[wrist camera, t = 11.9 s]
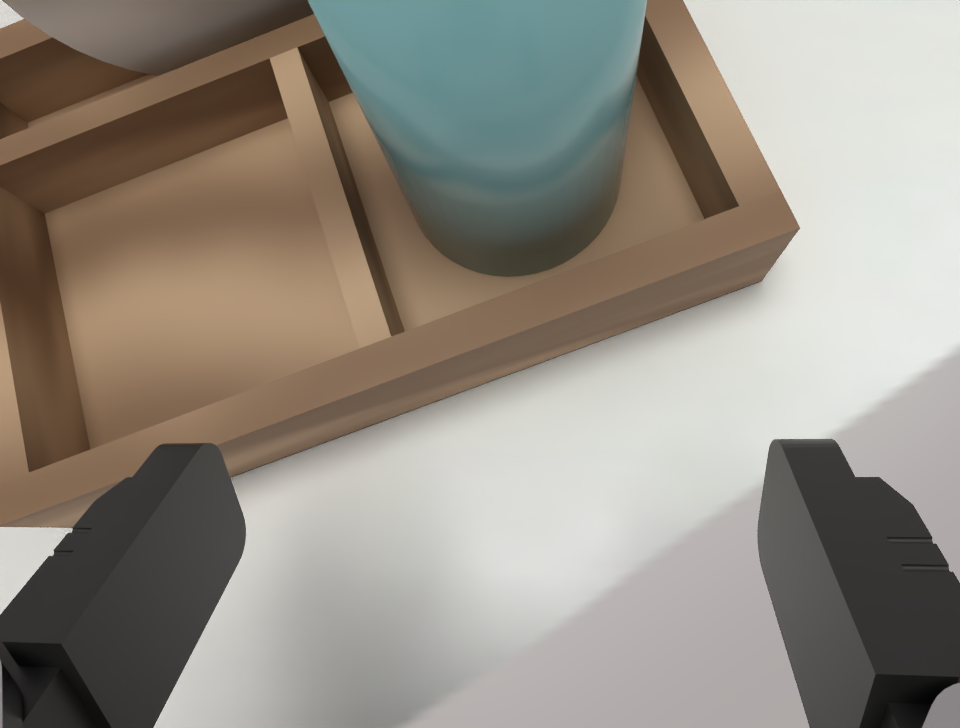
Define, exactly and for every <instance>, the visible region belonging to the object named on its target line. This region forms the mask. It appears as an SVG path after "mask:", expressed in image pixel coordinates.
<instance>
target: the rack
mask: <svg viewBox="0 0 960 728" xmlns="http://www.w3.org/2000/svg"><path fill="white" fill-rule="evenodd" d="M2 1H4V2H5V3H6V4H7V5H8V6H10V7H11V8H12V9H13V10H14V11H16V12H17V13H18V14H19V15H20V16H22V17H23V18H24V19H23V20H21V21H18V22H16V23H13V24H11V25H8V26H6V27H4V28H1V29H0V527H58V528H73V526H74V525H75V524H76V523H77V522H78V520H79V519H80V518H81V517H82V515H83V514H84V513H85V512H86V511H87V509H88V508H89V507H90V506H91V505H92V503H93V502H94V501H95V500H96V499H98V498H99V497H100V496H102V495H103V494H104V493H106V492H107V491H109V490H110V489H111V488H113V487H114V486H115V485H117V484H118V483H119V482H121V481H122V480H124V479H125V478H126V477H133V476H134V474H135V473H136V472H137V471H138V469H139V468H140V467H141V466H142V464H143V463H144V462H145V461H146V459H147V458H148V457H149V456H150V454H151V453H152V452H153V450H154V449H155V448H156V447H158V446H159V445H161V444H164V443H212V444H214V445H216V446H217V447H218V448H219V450H220V451H221V454H222V456H223V459H224V462H225V465H226V467H227V470H228V473H229V476H230V477H233V476H236V475H238V474H241V473H244V472H246V471H249V470H252V469H254V468H257V467H260V466H263V465H265V464H268V463H271V462H273V461H276V460H279V459H282V458H284V457H287V456H290V455H292V454H295V453H298V452H300V451H303V450H306V449H309V448H311V447H314V446H317V445H319V444H322V443H325V442H328V441H330V440H333V439H336V438H338V437H341V436H344V435H346V434H349V433H352V432H355V431H357V430H360V429H363V428H365V427H368V426H371V425H374V424H376V423H379V422H382V421H384V420H387V419H390V418H392V417H395V416H398V415H401V414H403V413H406V412H409V411H411V410H414V409H417V408H420V407H422V406H425V405H428V404H430V403H433V402H436V401H438V400H441V399H444V398H447V397H449V396H452V395H455V394H457V393H460V392H463V391H466V390H468V389H471V388H474V387H476V386H479V385H482V384H484V383H487V382H490V381H493V380H495V379H498V378H501V377H503V376H506V375H509V374H511V373H514V372H517V371H520V370H522V369H525V368H528V367H530V366H533V365H536V364H539V363H541V362H544V361H547V360H549V359H552V358H555V357H557V356H560V355H563V354H566V353H568V352H571V351H574V350H576V349H579V348H582V347H585V346H587V345H590V344H593V343H595V342H598V341H601V340H603V339H606V338H609V337H612V336H614V335H617V334H620V333H622V332H625V331H628V330H631V329H633V328H636V327H639V326H641V325H644V324H647V323H649V322H652V321H655V320H658V319H660V318H663V317H666V316H668V315H671V314H674V313H677V312H679V311H682V310H685V309H687V308H690V307H693V306H695V305H698V304H701V303H704V302H706V301H709V300H712V299H714V298H717V297H720V296H723V295H725V294H728V293H731V292H733V291H736V290H739V289H741V288H744V287H747V286H750V285H752V284H755V283H758V282H760V281H762V280H763V278H764V277H765V276H766V274H767V273H768V271H769V270H770V269H771V267H772V266H773V265H774V263H775V262H776V260H777V259H778V258H779V256H780V255H781V254H782V252H783V251H784V249H785V248H786V247H787V245H788V244H789V242H790V241H791V240H792V238H793V237H794V236H795V234H796V233H797V231H798V230H799V229H800V227H799V225H798V223H797V221H796V219H795V217H794V215H793V213H792V211H791V209H790V207H789V205H788V204H787V202H786V200H785V198H784V196H783V194H782V192H781V190H780V188H779V186H778V184H777V182H776V180H775V178H774V176H773V174H772V172H771V171H770V169H769V167H768V165H767V163H766V161H765V159H764V157H763V155H762V153H761V151H760V149H759V147H758V145H757V143H756V141H755V139H754V138H753V136H752V134H751V132H750V130H749V128H748V126H747V124H746V122H745V120H744V118H743V116H742V114H741V112H740V110H739V108H738V106H737V104H736V103H735V101H734V99H733V97H732V95H731V93H730V91H729V89H728V87H727V85H726V83H725V81H724V79H723V77H722V75H721V73H720V71H719V70H718V68H717V66H716V64H715V62H714V60H713V58H712V56H711V54H710V52H709V50H708V48H707V46H706V44H705V42H704V40H703V38H702V37H701V35H700V33H699V31H698V29H697V27H696V25H695V23H694V21H693V19H692V17H691V15H690V13H689V11H688V9H687V7H686V5H685V4H684V2H683V0H647V5H646V12H645V19H644V25H643V32H642V39H641V46H640V53H639V60H638V67H637V74H636V81H635V88H634V95H633V102H632V109H631V116H630V122H629V129H628V136H627V143H626V150H625V157H624V164H623V171H622V178H621V185H620V190H619V195H618V199H617V202H616V205H615V207H614V210H613V213H612V215H611V217H610V218H609V220H608V222H607V224H606V225H605V227H604V228H603V230H602V231H601V232H600V234H599V235H598V236H597V237H596V238H595V239H594V240H593V241H592V242H591V243H590V244H589V246H588V247H586V248H585V249H584V250H583V251H581V252H580V253H579V254H578V255H576V256H575V257H573V258H571V259H570V260H568V261H566V262H565V263H563V264H561V265H558V266H556V267H554V268H552V269H549V270H546V271H543V272H539V273H536V274H530V275H524V276H511V277H505V276H493V275H488V274H483V273H479V272H476V271H473V270H470V269H467V268H465V267H463V266H461V265H459V264H457V263H455V262H453V261H451V260H450V259H449V258H447V257H446V256H444V255H443V254H442V253H440V252H439V251H438V250H437V249H436V248H435V247H434V246H433V245H432V244H431V243H430V242H429V240H428V239H427V238H426V237H425V235H424V234H423V232H422V231H421V229H420V227H419V226H418V224H417V222H416V220H415V218H414V216H413V214H412V212H411V210H410V208H409V206H408V204H407V202H406V199H405V197H404V195H403V193H402V191H401V189H400V187H399V185H398V183H397V181H396V179H395V177H394V175H393V173H392V171H391V169H390V167H389V165H388V163H387V161H386V159H385V157H384V155H383V153H382V151H381V149H380V147H379V145H378V143H377V141H376V138H375V136H374V134H373V132H372V130H371V128H370V126H369V124H368V122H367V120H366V118H365V116H364V114H363V112H362V110H361V108H360V106H359V104H358V102H357V100H356V98H355V96H354V94H353V92H352V90H351V88H350V86H349V84H348V82H347V79H346V77H345V75H344V73H343V71H342V69H341V67H340V65H339V63H338V61H337V59H336V57H335V55H334V53H333V51H332V49H331V47H330V45H329V43H328V41H327V39H326V37H325V35H324V33H323V31H322V29H321V27H320V25H319V23H318V20H317V18H316V16H315V14H314V12H313V10H312V8H311V6H310V4H309V2H308V0H2Z"/></svg>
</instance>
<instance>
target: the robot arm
mask: <svg viewBox="0 0 960 728" xmlns="http://www.w3.org/2000/svg"><path fill="white" fill-rule="evenodd" d="M245 538H246V527H245V520H244V516H243V513H242V510H241V507H240V505H239V502H238V499H237V496H236V493H235V490H234V487H233V485H232V482H231V479H230V476H229V473H228V470H227V467H226V465H225V462H224V459H223V456H222V454H221V451H220V450H219V448H218V447H217V446H216V445H214V444H212V443H164V444H161V445H159V446H158V447H156V448H155V449H154V450H153V452H152V453H151V454H150V456H149V457H148V458H147V459H146V461H145V462H144V463H143V464H142V466H141V467H140V468H139V469H138V471H137V472H136V473H135V474H134V476H133V477H126V478H125V479H124V480H122V481H121V482H119V483H118V484H117V485H115V486H114V487H113V488H111V489H110V490H109V491H107V492H106V493H104V494H103V495H102V496H100V497H99V498H98V499H96V500H95V501H94V502H93V503H92V505H91V506H90V507H89V508H88V509H87V511H86V512H85V513H84V514H83V515H82V517H81V518H80V519H79V520H78V522H77V523H76V524H75V525H74V526H73V532H72V533H68V534H67V535H66V536H65V537H64V538H63V540H62V541H61V542H60V543H59V545H58V546H57V547H56V548H55V549H54V555H53V556H49V557H48V558H47V559H46V560H45V562H44V563H43V564H42V565H41V566H40V568H39V569H38V570H37V571H36V572H35V574H34V575H33V576H32V577H31V578H30V580H29V581H28V582H27V583H26V585H25V586H24V587H23V588H22V589H21V591H20V592H19V593H18V594H17V595H16V597H15V598H14V599H13V600H12V601H11V603H10V604H9V605H8V606H7V608H6V609H5V610H4V611H3V612H2V614H1V615H0V728H153V727H154V725H155V723H156V721H157V719H158V717H159V715H160V713H161V711H162V709H163V708H164V706H165V704H166V702H167V700H168V698H169V696H170V694H171V692H172V690H173V688H174V686H175V684H176V682H177V681H178V679H179V677H180V675H181V673H182V671H183V669H184V667H185V665H186V663H187V661H188V659H189V657H190V655H191V654H192V652H193V650H194V648H195V646H196V644H197V642H198V640H199V638H200V636H201V634H202V632H203V630H204V629H205V627H206V625H207V623H208V621H209V619H210V617H211V615H212V613H213V611H214V609H215V607H216V605H217V603H218V602H219V600H220V598H221V596H222V594H223V592H224V590H225V588H226V586H227V584H228V582H229V580H230V578H231V576H232V575H233V573H234V571H235V569H236V567H237V565H238V563H239V561H240V559H241V556H242V553H243V550H244V546H245ZM758 549H759V557H760V562H761V567H762V571H763V574H764V577H765V581H766V584H767V587H768V591H769V594H770V597H771V600H772V604H773V607H774V610H775V614H776V617H777V620H778V624H779V627H780V630H781V634H782V637H783V640H784V643H785V647H786V650H787V653H788V657H789V660H790V663H791V667H792V670H793V673H794V677H795V680H796V683H797V686H798V689H799V693H800V696H801V700H802V703H803V706H804V710H805V713H806V716H807V719H808V723H809V726H810V728H960V583H959V581H958V579H957V578H956V576H955V574H954V573H953V572H950V571H949V568H948V563H947V561H946V559H945V558H944V556H943V554H942V553H941V551H940V549H939V548H938V546H937V544H933V542H932V536H931V535H930V533H929V531H928V529H927V528H926V526H925V524H924V523H923V521H922V519H921V518H920V516H919V514H918V513H917V511H916V509H915V507H914V506H913V505H912V504H911V503H910V502H909V501H908V500H906V499H905V498H904V497H903V496H901V495H900V494H899V493H898V492H897V491H895V490H894V489H893V488H892V487H891V486H889V485H888V484H887V483H886V482H884V481H883V480H882V479H881V478H879V477H855V476H854V474H853V472H852V470H851V468H850V466H849V464H848V462H847V460H846V458H845V456H844V455H843V453H842V451H841V449H840V447H839V445H838V444H837V442H836V441H835V440H833V439H775V440H773V441H772V442H771V445H770V448H769V452H768V458H767V465H766V472H765V479H764V486H763V493H762V499H761V507H760V513H759V521H758Z"/></svg>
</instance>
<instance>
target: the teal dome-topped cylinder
mask: <svg viewBox="0 0 960 728" xmlns="http://www.w3.org/2000/svg"><path fill="white" fill-rule="evenodd" d="M308 2H309V4H310V6H311V8H312V10H313V12H314V14H315V16H316V18H317V20H318V23H319V25H320V27H321V29H322V31H323V33H324V35H325V37H326V39H327V41H328V43H329V45H330V47H331V49H332V51H333V53H334V55H335V57H336V59H337V61H338V63H339V65H340V67H341V69H342V71H343V73H344V75H345V77H346V79H347V82H348V84H349V86H350V88H351V90H352V92H353V94H354V96H355V98H356V100H357V102H358V104H359V106H360V108H361V110H362V112H363V114H364V116H365V118H366V120H367V122H368V124H369V126H370V128H371V130H372V132H373V134H374V136H375V138H376V141H377V143H378V145H379V147H380V149H381V151H382V153H383V155H384V157H385V159H386V161H387V163H388V165H389V167H390V169H391V171H392V173H393V175H394V177H395V179H396V181H397V183H398V185H399V187H400V189H401V191H402V193H403V195H404V197H405V199H406V202H407V204H408V206H409V208H410V210H411V212H412V214H413V216H414V218H415V220H416V222H417V224H418V226H419V227H420V229H421V231H422V232H423V234H424V235H425V237H426V238H427V239H428V240H429V242H430V243H431V244H432V245H433V246H434V247H435V248H436V249H437V250H438V251H439V252H440V253H442V254H443V255H444V256H446V257H447V258H449V259H450V260H451V261H453V262H455V263H457V264H459V265H461V266H463V267H465V268H467V269H470V270H473V271H476V272H479V273H483V274H488V275H493V276H505V277H511V276H524V275H530V274H536V273H539V272H543V271H546V270H549V269H552V268H554V267H556V266H558V265H561V264H563V263H565V262H566V261H568V260H570V259H571V258H573V257H575V256H576V255H578V254H579V253H580V252H581V251H583V250H584V249H585V248H586V247H588V246H589V244H590V243H591V242H592V241H593V240H594V239H595V238H596V237H597V236H598V235H599V234H600V232H601V231H602V230H603V228H604V227H605V225H606V224H607V222H608V220H609V218H610V217H611V215H612V213H613V210H614V207H615V205H616V202H617V199H618V195H619V190H620V185H621V178H622V171H623V164H624V157H625V150H626V143H627V136H628V129H629V122H630V116H631V109H632V102H633V95H634V88H635V81H636V74H637V67H638V60H639V53H640V46H641V39H642V32H643V25H644V19H645V12H646V5H647V0H308Z"/></svg>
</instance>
